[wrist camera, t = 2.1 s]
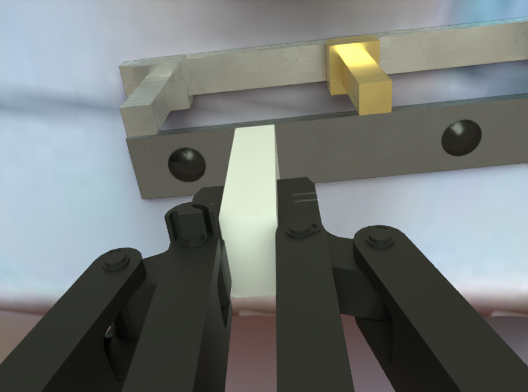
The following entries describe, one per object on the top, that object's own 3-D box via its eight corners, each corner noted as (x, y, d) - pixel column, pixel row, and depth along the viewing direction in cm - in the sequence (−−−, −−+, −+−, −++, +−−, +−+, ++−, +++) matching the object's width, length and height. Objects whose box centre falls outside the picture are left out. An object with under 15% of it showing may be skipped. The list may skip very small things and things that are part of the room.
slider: (327, 86, 30) (345, 130, 23) (325, 39, 29) (344, 71, 22) (372, 81, 30) (405, 124, 23) (372, 34, 29) (407, 64, 22)
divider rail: (134, 100, 33) (90, 153, 24) (123, 57, 31) (72, 98, 23) (538, 56, 31) (635, 98, 23) (546, 9, 30) (654, 36, 21)
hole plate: (145, 193, 36) (141, 199, 35) (129, 134, 34) (125, 139, 33) (533, 155, 35) (541, 161, 34) (546, 91, 32) (554, 95, 31)
